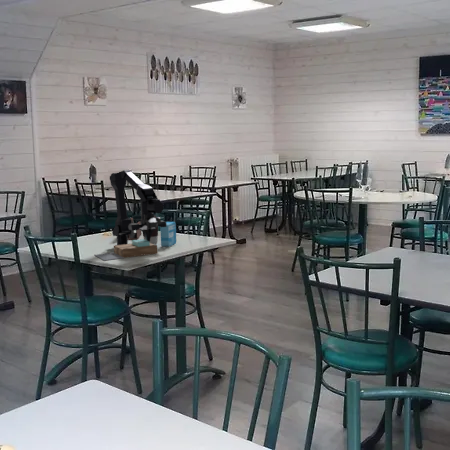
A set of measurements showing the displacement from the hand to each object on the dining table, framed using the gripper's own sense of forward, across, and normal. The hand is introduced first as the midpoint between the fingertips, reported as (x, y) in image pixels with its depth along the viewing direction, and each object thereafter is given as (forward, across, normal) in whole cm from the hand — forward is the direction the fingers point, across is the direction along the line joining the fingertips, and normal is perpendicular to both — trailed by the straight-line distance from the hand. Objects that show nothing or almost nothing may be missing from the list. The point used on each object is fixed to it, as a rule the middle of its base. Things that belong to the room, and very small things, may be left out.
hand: (148, 242), depth 307 cm
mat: (+5, -21, 0) cm, 22 cm away
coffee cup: (+5, +10, +22) cm, 25 cm away
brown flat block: (+5, -7, 0) cm, 9 cm away
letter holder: (+6, +9, +48) cm, 49 cm away
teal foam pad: (+1, -4, 0) cm, 4 cm away
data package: (+5, +16, +11) cm, 20 cm away
